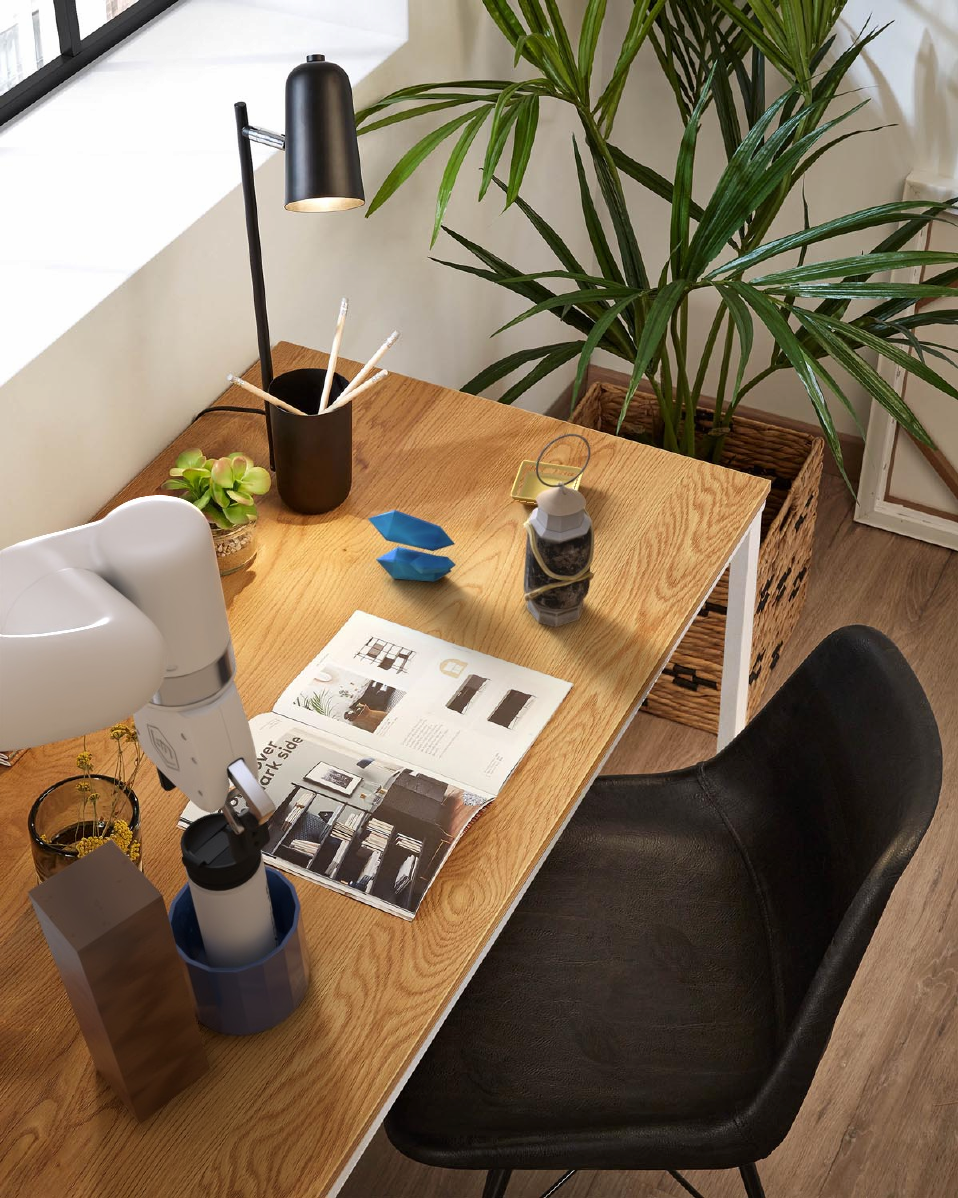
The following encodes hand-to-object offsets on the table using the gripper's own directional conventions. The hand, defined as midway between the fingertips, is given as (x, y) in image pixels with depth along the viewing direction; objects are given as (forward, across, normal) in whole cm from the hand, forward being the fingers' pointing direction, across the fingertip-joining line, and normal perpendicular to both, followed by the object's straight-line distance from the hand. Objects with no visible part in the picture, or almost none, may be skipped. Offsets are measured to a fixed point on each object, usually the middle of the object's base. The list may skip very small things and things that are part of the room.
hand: (215, 814), depth 100 cm
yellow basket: (+24, -33, +72) cm, 83 cm away
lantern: (+24, -16, +56) cm, 63 cm away
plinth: (+23, +2, -11) cm, 26 cm away
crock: (+23, 0, 0) cm, 23 cm away
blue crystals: (+24, -33, +48) cm, 63 cm away
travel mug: (+23, 0, 0) cm, 23 cm away
